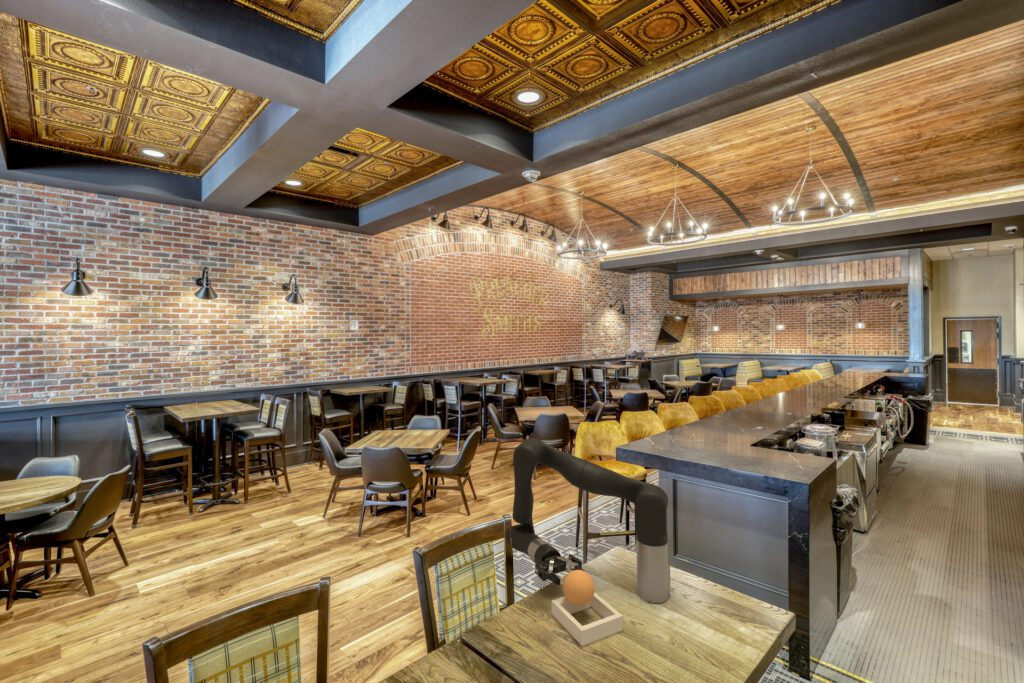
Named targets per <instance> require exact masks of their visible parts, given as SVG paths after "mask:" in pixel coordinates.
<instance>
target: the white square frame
mask: <svg viewBox="0 0 1024 683" xmlns="http://www.w3.org/2000/svg"><path fill="white" fill-rule="evenodd" d="M589 608H592V609H593V610H594V611H595V612H596V613H598V614H599V615H600V616H601V617H602V618H601V619H599V620H595V621H593V622H590V623H588V624H585V625H582V624H581V623H580V622H579V621H578V620H577V619H576V618H575V617H574V616H573V614H575V613H578V612H582V611H584V610H587V609H589ZM551 615H552V616H553V617H554V618H555V620H556V621H558V623H559V624H560V625H561V626H562V627H563V628H564V629H565V630H566V631H567V632H568V633H569V634H570V635H571V636H572V638H574V639H575V641H576V642H577V643H578V644H579V645H581V647H584V646H586V645H589V644H592V643H594V642H597V641H600V640H601V639H604V638H608V637H610V636H611V635H615V634H618V633H620V632H622V631H624V624H623V623H624V622H623V621H624V618H623V615H622V614H621V613H620V612H619V611H617V609H615V608H614V607H613V606H611V605H610V604H609V603H608V602H607V601H606V600H604V599H603V598H602V597H601V596H599V594H597V593H596V592H594V596H593V598H592V599H591V601H590V602H589V603H587V604H585V605H575V604H573V603H571V602H570V601H569V600H568V599H567V598H566V596H565V595H564V596H562V597H558V598H556V599H553V600H551Z"/></svg>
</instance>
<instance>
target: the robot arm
mask: <svg viewBox="0 0 1024 683" xmlns="http://www.w3.org/2000/svg"><path fill="white" fill-rule="evenodd" d="M512 454H513V455H512V459H513V460H512V461H513V464H512V465H513V474H514V476H513V477H514V479H513V480H514V493H513V494H514V495H513V504H512V505H513V507H512V519H513V521H514V522H515V523H517V524H515V525H511V526H509V527H507V529H506V531H505V536H504V537H505V540H506V542H507V545H508V546H509V545H510V527H511V538H512V547H511V548H512V549H514V550H515V551H517V552H520V553H524V554H526V556H527V557H529V558H530V559H531V561H532V562H533V563H534V573H535V575H536V576H537V577H538V578H539V579H540V580H541V581H542V582H546V581H549V582H550V581H551V583H552V584H554V585H556V586H558V587H559V586H561V583H562V582H561V581H562V580H561V577H559V575H557V574H559V573H562V572H565V573H567V574H569V573H570V572H571V571H574V570H582V571H584V572H586V571H585V569H584V568H583V561H582V560H580V559H578V558H577V557H576V556H575V555H573V554H571V553H570V554H568V557H563V556H562V555H561V553H560V552H559V551H558V549H556V548H555V547H554V546H553V545H551V544H550V543H549V542H547V541H546V540H544V539H543V538H541V537H540V536H538V535H537V534H536V533H535V528H534V527H535V526H534V522H533V521H534V520H533V511H534V503H535V502H534V499H535V498H534V493H533V488H532V480H533V475H534V472H535V468H536V467H538V465H542V466H545V467H548V468H551V469H553V470H555V471H556V472H558V473H559V474H560V475H561V476H562V477H563V478H564V479H565V480H566V481H567V482H568V483H569V484H570V485H572V486H573V487H575V488H578V489H580V490H583V491H585V492H587V493H589V494H593V495H597V496H598V495H599V496H603V497H604V496H605V497H606V496H607V497H615V498H619V499H623V500H625V501H627V502H630V503H632V504H634V529H635V533H636V534H635V535H636V536H635V537H636V545H635V546H636V595H637V596H638V597H639V598H640V599H641V600H642V601H645V602H648V603H650V604H661V603H665V602H666V601H667V600H668V598H669V597H670V596H671V566H670V564H669V563H668V562H669V561H668V560H669V557H668V555H669V554H668V553H669V551H668V542H669V541H668V528H667V527H668V526H667V524H668V522H667V519H668V518H667V513H668V512H667V511H668V504H669V497H668V495H667V493H666V492H665V490H664V489H663V488H661V487H660V486H658V485H656V484H654V483H650V482H646V481H641V480H639V479H635V478H632V477H629V476H625V475H623V474H621V473H619V472H616V471H614V470H611V469H608V468H606V467H603V466H602V465H599V464H597V463H594V462H591V461H590V460H589V461H588V460H586V459H583V458H581V457H577V456H576V455H575V456H574V455H572V454H570V453H567V452H564V451H561V450H560V449H558V448H556V447H554V446H552V445H550V444H548V443H546V442H544V441H542V440H540V439H537V438H534V437H528V438H526V439H524V440H523V441H522V442H520V444H518V445H517V446H516V448H515V449H514V450H513V453H512ZM572 566H573V567H572Z"/></svg>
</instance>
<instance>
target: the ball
mask: <svg viewBox="0 0 1024 683" xmlns="http://www.w3.org/2000/svg"><path fill="white" fill-rule="evenodd" d="M584 571H585V570H584ZM584 571H582V570H574V571H571V572H570V573H567V574H566V576H565V577H564V580H563V582H562V583H563V584H562V590H563V593H564V596H566V598H567V599H568V600H569V601H570V602H571V603H573V604H575V605H585V604H587V603H589V602H590V601H591V599H592V598H593V596H594V592H595V591H596V587H595V583H594V579H593V578H592V576H591V575H590V574H589V573H588V572H586V571H585V572H584ZM595 593H596V592H595Z"/></svg>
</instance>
